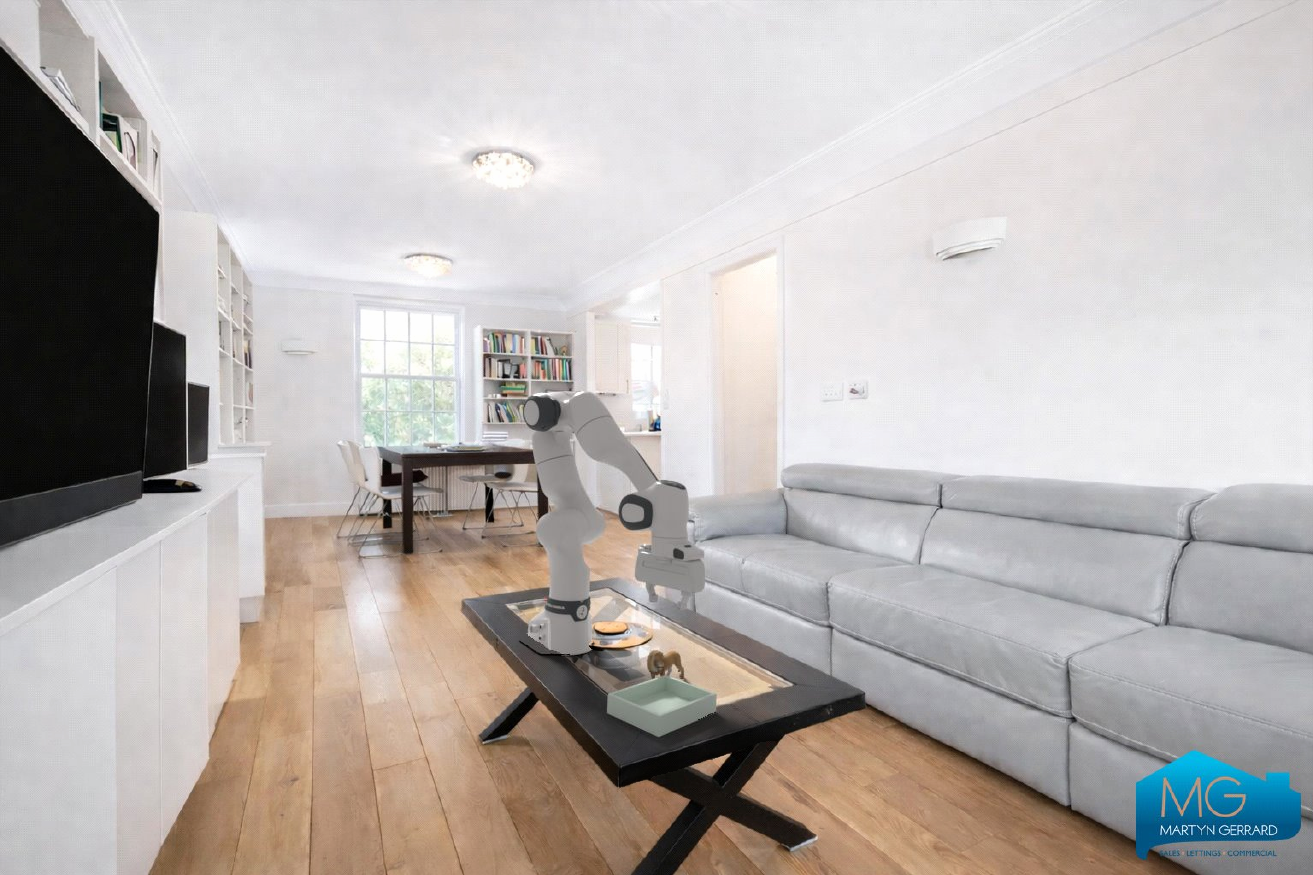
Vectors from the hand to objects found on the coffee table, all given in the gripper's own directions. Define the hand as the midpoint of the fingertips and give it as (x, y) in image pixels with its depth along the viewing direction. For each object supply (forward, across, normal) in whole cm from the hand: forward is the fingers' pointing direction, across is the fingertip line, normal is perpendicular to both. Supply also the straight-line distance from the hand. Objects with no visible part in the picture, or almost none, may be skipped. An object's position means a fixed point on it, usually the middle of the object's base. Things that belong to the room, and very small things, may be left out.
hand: (667, 605), depth 152 cm
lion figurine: (+19, 0, +1) cm, 19 cm away
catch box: (+19, +11, -13) cm, 25 cm away
